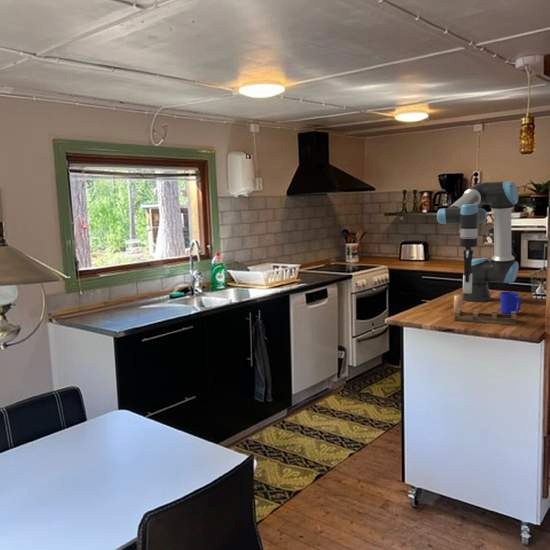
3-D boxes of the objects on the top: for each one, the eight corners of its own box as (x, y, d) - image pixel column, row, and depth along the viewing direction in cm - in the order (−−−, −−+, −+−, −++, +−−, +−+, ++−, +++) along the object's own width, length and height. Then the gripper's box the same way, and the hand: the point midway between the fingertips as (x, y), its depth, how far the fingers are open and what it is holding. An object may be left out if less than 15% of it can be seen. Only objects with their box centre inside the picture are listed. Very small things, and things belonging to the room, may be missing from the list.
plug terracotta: (454, 312, 269) (454, 294, 268) (462, 313, 267) (462, 295, 266) (453, 314, 265) (453, 296, 264) (461, 314, 264) (462, 296, 263)
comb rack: (456, 316, 260) (456, 308, 260) (515, 320, 250) (516, 311, 249) (454, 320, 251) (454, 312, 250) (515, 324, 241) (516, 315, 240)
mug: (512, 317, 256) (513, 296, 255) (495, 312, 268) (496, 292, 267) (527, 315, 258) (527, 295, 257) (509, 311, 270) (510, 291, 269)
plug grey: (463, 291, 254) (463, 272, 253) (472, 292, 253) (472, 273, 252) (462, 293, 251) (462, 273, 250) (471, 293, 249) (472, 274, 248)
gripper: (461, 236, 258) (460, 285, 260) (458, 239, 242) (457, 290, 245) (478, 236, 255) (477, 286, 257) (476, 239, 239) (474, 291, 242)
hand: (467, 288), depth 251 cm, fingers closed on plug grey, 3 cm apart
